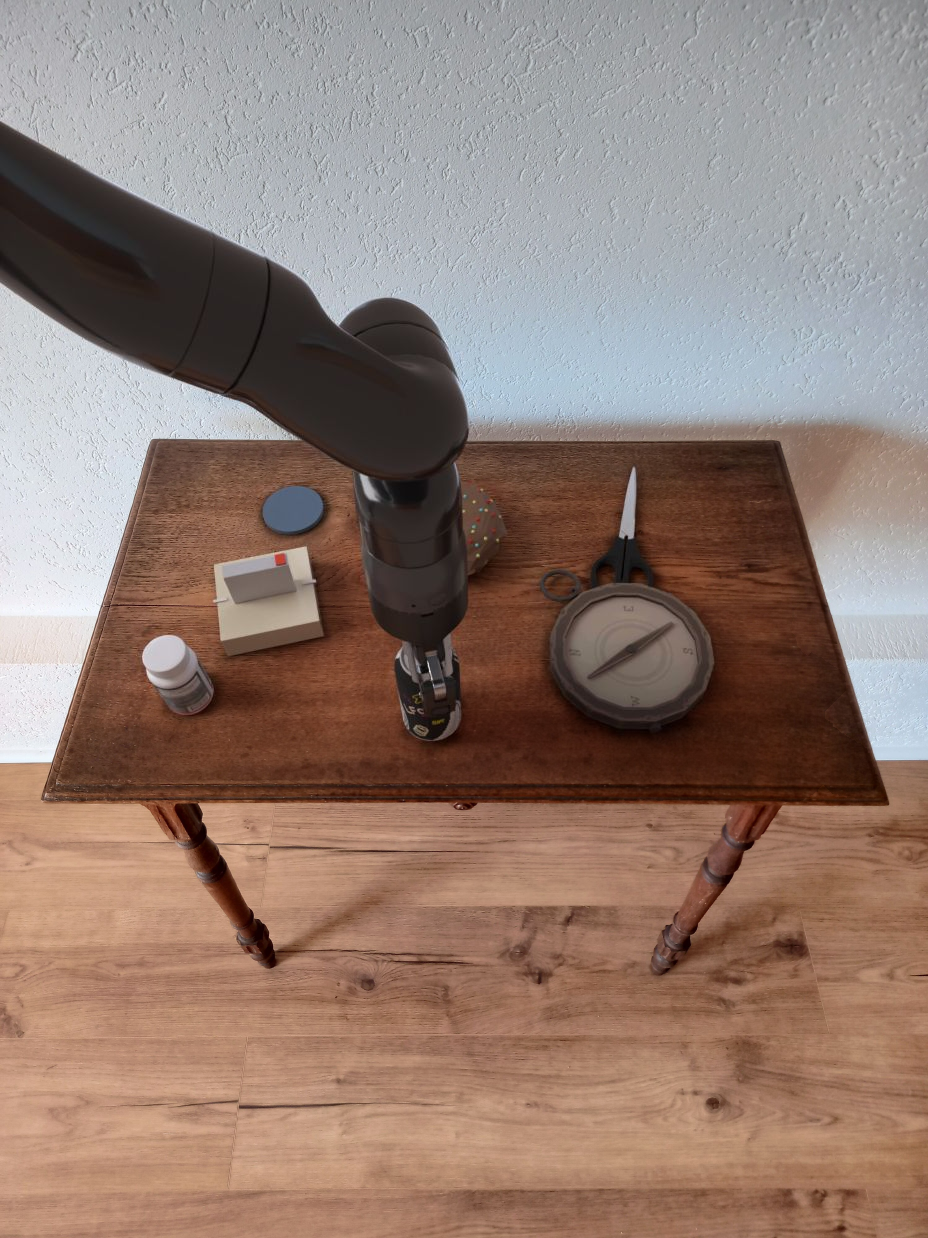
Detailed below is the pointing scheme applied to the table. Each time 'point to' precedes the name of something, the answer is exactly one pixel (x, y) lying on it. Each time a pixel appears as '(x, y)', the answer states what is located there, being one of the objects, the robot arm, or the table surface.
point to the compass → (629, 654)
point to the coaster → (293, 510)
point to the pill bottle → (177, 675)
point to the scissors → (617, 550)
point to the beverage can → (413, 703)
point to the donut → (480, 526)
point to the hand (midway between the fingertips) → (428, 680)
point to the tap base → (270, 610)
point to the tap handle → (259, 578)
